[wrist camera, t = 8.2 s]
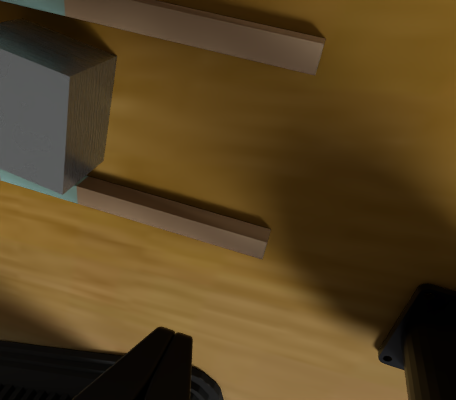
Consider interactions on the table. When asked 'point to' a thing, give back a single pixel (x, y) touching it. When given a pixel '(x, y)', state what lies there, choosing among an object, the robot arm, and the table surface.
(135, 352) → the robot arm
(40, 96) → the block
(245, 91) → the table surface
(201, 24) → the brown u-shaped frame
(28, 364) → the award
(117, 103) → the table surface
